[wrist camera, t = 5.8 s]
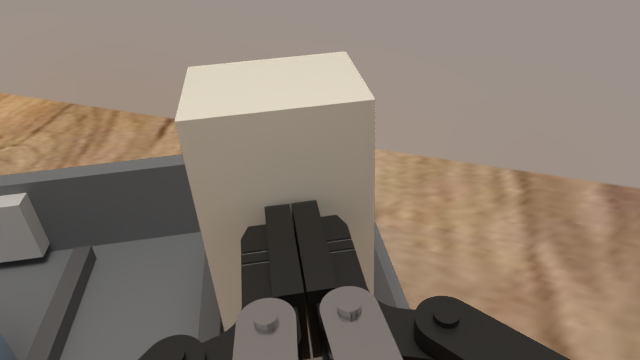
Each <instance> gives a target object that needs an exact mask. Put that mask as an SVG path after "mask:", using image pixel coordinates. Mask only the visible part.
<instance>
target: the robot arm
mask: <svg viewBox="0 0 640 360" xmlns="http://www.w3.org/2000/svg"><path fill="white" fill-rule="evenodd" d="M291 206H292V215H293V223H292V217H291V211H290V205H289V204H282V205H274V206H266V207H264V209H265V220H266V224H264V225H257V226H249V227H247V229H246V231H245V233H244V234H243V236H242V238H241V287H242V309H241V312H240V313H239V315H238V317H237V320H236V322H235V323H234V324H233V326H232V327H230V328H229V329H228V330H227V331H225V332H224V333H222V334H220V335H218V336H216V337H214V338H212V339H209V340H207V341H205V342H203V343H201V342H200V341H199V340H198V339H196V338H195V337H192V336H190V335H173V336H169V337H166V338H164V339H162V340H160V341H158V342H157V343H155V344H154V345H153V346H151V347H150V348H149V349H148V350H147V351H146V352H145V353H144V354H143V355H142V356H141V357H140V358H139V359H138V360H306V359H311V356H310V346H309V336H308V328H309V334H310V340H311V346H312V353H313V358H317V357H322V360H570V359H568V358H566V357H564V356H562V355H560V354H559V353H557V352H555V351H553V350H551V349H549V348H547V347H546V346H544V345H542V344H540V343H538V342H536V341H535V340H533V339H531V338H529V337H527V336H525V335H523V334H522V333H520V332H518V331H516V330H514V329H512V328H511V327H509V326H507V325H505V324H503V323H501V322H499V321H498V320H496V319H494V318H492V317H490V316H488V315H487V314H485V313H483V312H481V311H479V310H477V309H475V308H474V307H472V306H470V305H468V304H466V303H464V302H463V301H460V300H458V299H456V298H453V297H448V296H435V297H431V298H428V299H426V300H424V301H422V302H421V303H420V304H419V305H418V307H417V309H416V310H412V309H403V308H396V307H392V306H388V305H386V304H383V303H382V302H380V301H378V300H377V299H376V298H375V297H374V296H373V295H372V294H371V293H370V291H369V290H368V287H367V285H366V281H365V278H364V275H363V272H362V269H361V266H360V263H359V260H358V257H357V253H356V250H355V247H354V244H353V241H352V239H351V235H350V232H349V229H348V225H347V224H346V223H345V222H344V221H343V220H342V219H341V218H340V217H338V216H337V215H331V216H323V217H321V216H320V212H319V208H318V204H317V201H316V200H312V201H304V202H296V203H291ZM293 225H294V229H293ZM294 234H295V235H294ZM306 316H307V317H306ZM307 322H308V327H307Z"/></svg>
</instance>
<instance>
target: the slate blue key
mask: <svg viewBox="0 0 640 360" xmlns="http://www.w3.org/2000/svg"><path fill="white" fill-rule="evenodd" d="M0 360H17V359H16V357H15V355H14V354H13V352H12V350H11V349H10V347H9V345H8V344H7V342H6V341H5V339H4V337H3V336H2V334H1V332H0Z"/></svg>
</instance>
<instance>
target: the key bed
mask: <svg viewBox="0 0 640 360" xmlns="http://www.w3.org/2000/svg"><path fill="white" fill-rule="evenodd" d="M374 297H375V298H376V299H377V300H378V301H380V302H382V303H383V304H386V305H388V306H392V307H396V308H403V309H410V308H409V306H408V303H407V301H406V298H405V296H404V293H403V291H402V288H401V286H400V283H399V281H398V278H397V276H396V273H395V271H394V268H393V266H392V263H391V261H390V258H389V256H388V253H387V251H386V248H385V246H384V243H383V241H382V238H381V236H380V233H379V231H378V228H377V226H376V223H375V221H374ZM0 332H1V334H2V336H3V337H4V339H5V341H6V342H7V344H8V345H9V347H10V349H11V350H12V352H13V354H14V355H15V357H16V359H17V360H138V359H139V358H140V357H141V356H142V355H143V354H144V353H145V352H146V351H147V350H148V349H149V348H150V347H151V346H153V345H154V344H155V343H157V342H158V341H160V340H162V339H164V338H166V337H169V336H173V335H190V336H192V337H195V338H196V339H198V340H199V341H200V342H201V343H203V342H205V341H207V340H209V339H212V338H214V337H216V336H218V335H220V334H222V333H224V332H225V331H224V327H223V323H222V319H221V315H220V310H219V306H218V302H217V298H216V294H215V289H214V285H213V281H212V277H211V272H210V268H209V264H208V260H207V256H206V251H205V247H204V243H203V239H202V235H201V230H200V226H199V222H198V218H197V213H196V209H195V205H194V201H193V197H192V192H191V188H190V184H189V180H188V175H187V171H186V167H185V163H184V159H183V154H182V155H173V156H164V157H156V158H147V159H139V160H130V161H122V162H113V163H104V164H96V165H87V166H79V167H70V168H62V169H53V170H44V171H36V172H27V173H19V174H10V175H1V176H0Z"/></svg>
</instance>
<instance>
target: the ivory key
mask: <svg viewBox="0 0 640 360" xmlns="http://www.w3.org/2000/svg"><path fill="white" fill-rule="evenodd" d="M175 125H176V129H177V133H178V138H179V142H180V146H181V150H182V154H183V159H184V163H185V167H186V171H187V175H188V180H189V184H190V188H191V192H192V197H193V201H194V205H195V209H196V213H197V218H198V222H199V226H200V230H201V235H202V239H203V243H204V247H205V251H206V256H207V260H208V264H209V268H210V272H211V277H212V281H213V285H214V289H215V294H216V298H217V302H218V306H219V310H220V315H221V319H222V323H223V327H224V331H227V330H228V329H229V328H230V327H232V326H233V324H234V323H235V322H236V320H237V317H238V315H239V313H240V312H241V309H242V287H241V238H242V236H243V234H244V233H245V231H246V229H247V227H249V226H257V225H264V224H266V220H265V209H264V207H266V206H274V205H282V204H289V205H290V211H291V217H292V223H293V215H292V206H291V203H296V202H304V201H312V200H316V201H317V204H318V208H319V212H320V216H321V217H323V216H331V215H337V216H338V217H340V218H341V219H342V220H343V221H344V222H345V223H346V224H347V225H348V229H349V232H350V235H351V239H352V241H353V244H354V247H355V250H356V253H357V257H358V260H359V263H360V266H361V269H362V272H363V275H364V278H365V281H366V285H367V287H368V290H369V291H370V293H371V294H372V295H373V296H374V201H375V98H374V97H373V95H372V94H371V92H370V90H369V89H368V87H367V85H366V84H365V82H364V80H363V79H362V77H361V76H360V74H359V72H358V71H357V69H356V68H355V66H354V64H353V63H352V61H351V59H350V58H349V56H348V55H347V53H346V52H345V51H344V52H335V53H324V54H314V55H305V56H294V57H285V58H274V59H264V60H254V61H244V62H234V63H224V64H214V65H205V66H194V67H188V70H187V74H186V78H185V82H184V86H183V90H182V94H181V98H180V102H179V106H178V111H177V115H176V118H175ZM293 229H294V225H293ZM294 235H295V234H294ZM306 317H307V316H306ZM307 327H308V322H307ZM308 336H309V346H310V356H311V359H306V360H322V357H317V358H313V353H312V346H311V340H310V334H309V328H308Z"/></svg>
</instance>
